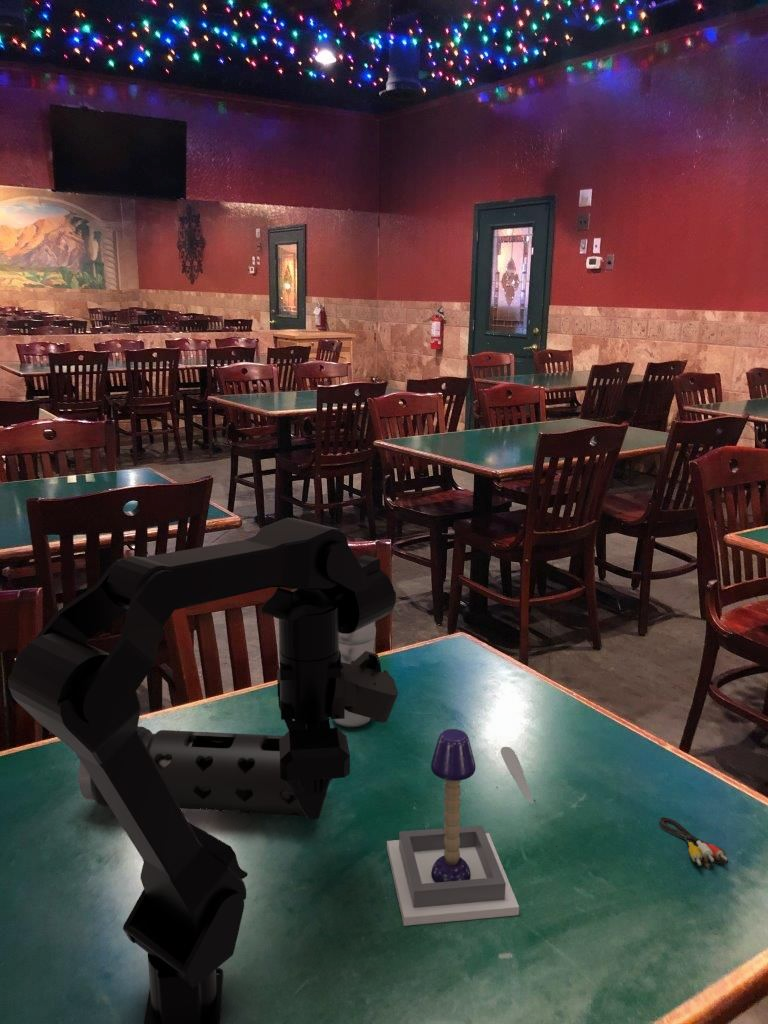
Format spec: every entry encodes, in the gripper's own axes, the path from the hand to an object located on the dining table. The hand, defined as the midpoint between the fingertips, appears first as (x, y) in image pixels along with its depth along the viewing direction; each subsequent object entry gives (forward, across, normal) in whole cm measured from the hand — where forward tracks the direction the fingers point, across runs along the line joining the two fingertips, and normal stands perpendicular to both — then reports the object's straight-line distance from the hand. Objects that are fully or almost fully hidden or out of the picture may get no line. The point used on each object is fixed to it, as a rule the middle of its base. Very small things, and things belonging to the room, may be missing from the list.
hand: (310, 790), depth 84 cm
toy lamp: (+12, +1, -15) cm, 19 cm away
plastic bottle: (+13, +36, -8) cm, 39 cm away
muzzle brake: (+13, +17, +12) cm, 25 cm away
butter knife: (+14, +13, -29) cm, 34 cm away
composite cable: (+14, +3, -45) cm, 47 cm away
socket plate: (+13, +1, -15) cm, 20 cm away
